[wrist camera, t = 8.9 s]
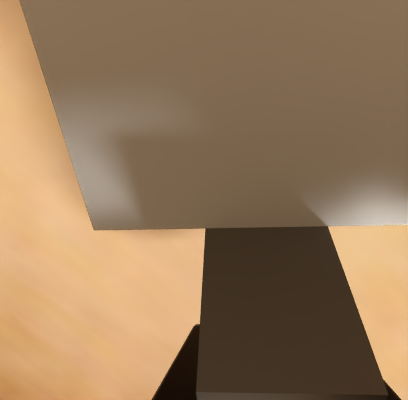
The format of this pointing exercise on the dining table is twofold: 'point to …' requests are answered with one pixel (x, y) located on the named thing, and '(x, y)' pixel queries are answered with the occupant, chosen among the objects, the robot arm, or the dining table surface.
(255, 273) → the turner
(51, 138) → the dining table surface
